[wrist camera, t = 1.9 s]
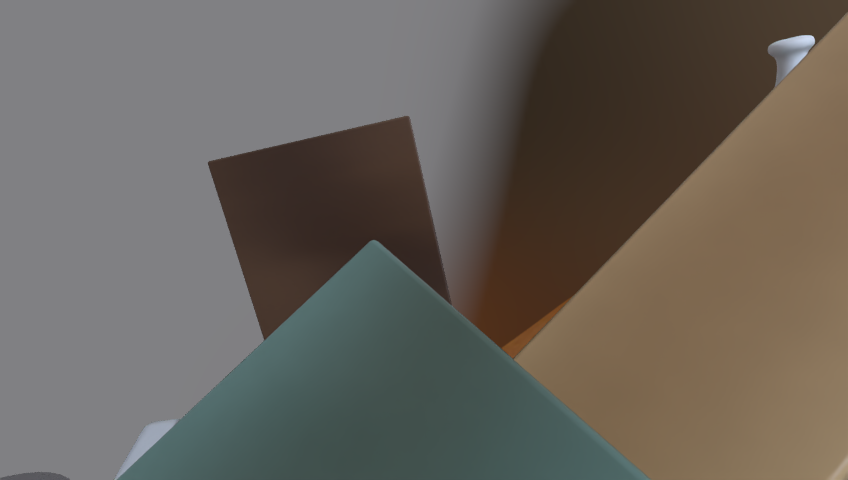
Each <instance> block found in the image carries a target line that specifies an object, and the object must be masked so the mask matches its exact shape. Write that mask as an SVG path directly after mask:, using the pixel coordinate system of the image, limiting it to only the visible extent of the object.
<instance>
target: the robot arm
mask: <svg viewBox="0 0 848 480" xmlns="http://www.w3.org/2000/svg"><path fill="white" fill-rule="evenodd" d="M181 419H182V418H181ZM179 420H180V419H173V420H164V421H157V422H151V423H150V424H148V425H147V426H146V427H144V428H143V430H142V432H141V434H140V435H139V437H138V439H137V440H136V442H135V444H134V446H133V447H132V449H131V451H130V453H129V454H128V456H127V458H126V459H125V461H124V463H123V465H122V466H121V468H120V470H119V471H118V473H117V475H116V477H115V478H114V480H117V479H118V478H119V477H120V476H121V475H122V474H123V473H124V472H125V471H126V470H127V469H128V468H129V467H130V466H132V465H133V464H134V463H135V462H136V461H137V460H138V459H139V458H140V457H141V456H142V455H143V454H144V453H145V452H146V451H148V450H149V449H150V448H151V447H152V446H153V445H154V444H155V443H156V442H157V441H158V440H159V439H160V438H161V437H162V436H163V435H165V434H166V433H167V432H168V431H169V430H170V429H171V428H172V427H173V426H174V425H175V424H176V423H177V422H178V421H179Z"/></svg>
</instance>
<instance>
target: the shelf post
mask: <svg viewBox="0 0 848 480" xmlns="http://www.w3.org/2000/svg"><path fill="white" fill-rule="evenodd" d="M208 165H209V168H210V172H211V175H212V178H213V181H214V184H215V187H216V190H217V193H218V197H219V200H220V203H221V206H222V209H223V212H224V215H225V218H226V222H227V224H228V228H229V231H230V234H231V237H232V240H233V244H234V247H235V250H236V253H237V256H238V259H239V262H240V265H241V268H242V271H243V275H244V278H245V281H246V284H247V287H248V290H249V294H250V297H251V300H252V303H253V306H254V309H255V312H256V316H257V318H258V322H259V325H260V328H261V331H262V334H263V337H264V340H265V339H267V338H268V337H269V336H270V335H271V334H272V333H273V332H274V331H275V330H276V329H277V328H278V327H279V326H280V325H281V324H282V323H284V322H285V321H286V320H287V319H288V318H289V317H290V316H291V315H292V314H293V313H294V312H295V311H296V310H297V309H298V308H299V307H301V306H302V305H303V304H304V303H305V302H306V301H307V300H308V299H309V298H310V297H311V296H312V295H313V294H314V293H315V292H316V291H318V290H319V289H320V288H321V287H322V286H323V285H324V284H325V283H326V282H327V281H328V280H329V279H330V278H331V277H332V276H333V275H335V274H336V273H337V272H338V271H339V270H340V269H341V268H342V267H343V266H344V265H345V264H346V263H347V262H348V261H349V260H351V259H352V258H353V257H354V256H355V255H356V254H357V253H358V252H359V251H360V250H361V249H362V248H363V247H364V246H365V245H366V244H368V243H369V242H370V241H372V240H376V241H378V242H379V243H381V244H382V245H383V246H384V247H385V248H386V249H387V250H389V251H390V252H391V253H392V254H393V255H394V256H395V257H397V258H398V259H399V260H400V261H401V262H402V263H403V264H405V265H406V266H407V267H408V268H409V269H410V270H411V271H413V272H414V273H415V274H416V275H417V276H418V277H420V278H421V279H422V280H423V281H424V282H425V283H426V284H428V285H429V286H430V287H431V288H432V289H433V290H434V291H436V292H437V293H438V294H439V295H440V296H441V297H442V298H444V299H445V300H446V301H447V302H448V303H449V304H450V305H452V304H451V300H450V295H449V290H448V286H447V281H446V277H445V272H444V268H443V263H442V259H441V255H440V251H439V246H438V241H437V237H436V232H435V228H434V224H433V219H432V215H431V210H430V206H429V201H428V196H427V192H426V188H425V183H424V179H423V174H422V170H421V165H420V161H419V156H418V152H417V147H416V143H415V138H414V134H413V130H412V125H411V120H410V117H409V116H404V117H400V118H395V119H391V120H387V121H382V122H378V123H374V124H369V125H365V126H361V127H356V128H352V129H347V130H343V131H339V132H335V133H330V134H326V135H321V136H317V137H313V138H308V139H304V140H300V141H295V142H291V143H287V144H282V145H278V146H274V147H269V148H265V149H261V150H256V151H252V152H248V153H243V154H239V155H234V156H230V157H226V158H221V159H217V160H213V161H209V162H208Z"/></svg>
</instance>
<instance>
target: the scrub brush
mask: <svg viewBox="0 0 848 480" xmlns="http://www.w3.org/2000/svg"><path fill="white" fill-rule="evenodd" d="M117 480H848V12H847V13H846V14H845V16H843V18H841V20H840V21H839V22H838V23H837V24H836V25H835V26H834V27H833V28H832V29H831V30H830V31H829V32H828V33H827V34H826V35H825V36H824V37H823V38H822V39H821V40H820V41H819V42H818V43H817V44H816V46H814V48H813V49H812V50H811V51H810V52H809V53H808V54H807V55H806V56H805V57H804V58H803V59H802V60H801V61H800V62H799V63H798V64H797V65H796V66H795V67H794V68H793V69H792V70H791V71H790V72H789V73H788V74H787V75H786V76H785V77H784V79H783V80H782V81H781V82H780V83H779V84H778V85H777V86H776V87H775V88H774V89H773V90H772V91H771V92H770V93H769V94H768V95H767V96H766V97H765V98H764V99H763V100H762V101H761V102H760V103H759V104H758V106H756V108H755V109H754V110H753V111H752V112H751V113H750V114H749V115H748V116H747V117H746V118H745V119H744V120H743V121H742V122H741V123H740V124H739V125H738V126H737V127H736V128H735V129H734V130H733V131H732V133H730V135H729V136H728V137H727V138H726V139H725V140H724V141H723V142H722V143H721V144H720V145H719V146H718V147H717V148H716V149H715V150H714V151H713V152H712V153H711V154H710V155H709V156H708V157H707V158H706V159H705V160H704V161H703V163H702V164H700V166H699V167H698V168H697V169H696V170H695V171H694V172H693V173H692V174H691V175H690V176H689V177H688V178H687V179H686V180H685V181H684V182H683V183H682V184H681V185H680V186H679V187H678V188H677V189H676V190H675V191H674V192H673V194H672V195H671V196H670V197H669V198H668V199H667V200H666V201H665V202H664V203H663V204H662V205H661V206H660V207H659V208H658V209H657V210H656V211H655V212H654V213H653V214H652V215H651V216H650V217H649V218H648V219H647V220H646V221H645V222H644V223H643V225H642V226H641V227H640V228H639V229H638V230H637V231H636V232H635V233H634V234H633V235H632V236H631V237H630V238H629V239H628V240H627V241H626V242H625V243H624V244H623V245H622V246H621V247H620V248H619V249H618V250H617V251H616V253H614V255H613V256H612V257H611V258H610V259H609V260H608V261H607V262H606V263H605V264H604V265H603V266H602V267H601V268H600V269H599V270H598V271H597V272H596V273H595V274H594V275H593V276H592V277H591V278H590V279H589V281H587V282H586V284H585V285H584V286H583V287H582V288H581V289H580V290H579V291H578V292H577V293H576V294H575V295H574V296H573V297H572V298H571V299H570V300H569V301H568V302H567V303H566V304H565V305H564V306H563V307H562V308H561V309H560V310H559V311H558V313H557V314H556V315H555V316H554V317H553V318H552V319H551V320H550V321H549V322H548V323H547V324H546V325H545V326H544V327H543V328H542V329H541V330H540V331H539V332H538V333H537V334H536V335H535V336H534V337H533V338H532V339H531V340H530V341H529V343H528V344H527V345H526V346H525V347H524V348H523V349H522V350H521V351H520V352H519V353H518V354H517V355H516V356H515V357H514V358H513V359H512V358H511V357H510V356H509V355H508V354H507V353H506V352H504V351H503V350H502V349H501V348H500V347H499V346H498V345H496V344H495V343H494V342H493V341H492V340H491V339H489V338H488V337H487V336H486V335H485V334H484V333H483V332H481V331H480V330H479V329H478V328H477V327H476V326H474V325H473V324H472V323H471V322H470V321H469V320H468V319H467V318H465V317H464V316H463V315H462V314H461V313H460V312H459V311H457V310H456V309H455V308H454V307H453V306H452V305H450V304H449V303H448V302H447V301H446V300H445V299H444V298H442V297H441V296H440V295H439V294H438V293H437V292H436V291H434V290H433V289H432V288H431V287H430V286H429V285H428V284H426V283H425V282H424V281H423V280H422V279H421V278H420V277H418V276H417V275H416V274H415V273H414V272H413V271H411V270H410V269H409V268H408V267H407V266H406V265H405V264H403V263H402V262H401V261H400V260H399V259H398V258H397V257H395V256H394V255H393V254H392V253H391V252H390V251H389V250H387V249H386V248H385V247H384V246H383V245H382V244H381V243H379V242H378V241H376V240H372V241H370V242H369V243H368V244H366V245H365V246H364V247H363V248H362V249H361V250H360V251H359V252H358V253H357V254H356V255H355V256H354V257H353V258H352V259H351V260H349V261H348V262H347V263H346V264H345V265H344V266H343V267H342V268H341V269H340V270H339V271H338V272H337V273H336V274H335V275H333V276H332V277H331V278H330V279H329V280H328V281H327V282H326V283H325V284H324V285H323V286H322V287H321V288H320V289H319V290H318V291H316V292H315V293H314V294H313V295H312V296H311V297H310V298H309V299H308V300H307V301H306V302H305V303H304V304H303V305H302V306H301V307H299V308H298V309H297V310H296V311H295V312H294V313H293V314H292V315H291V316H290V317H289V318H288V319H287V320H286V321H285V322H284V323H282V324H281V325H280V326H279V327H278V328H277V329H276V330H275V331H274V332H273V333H272V334H271V335H270V336H269V337H268V338H267V339H265V340H264V341H263V342H262V343H261V344H260V345H259V346H258V347H257V348H256V349H255V350H254V351H253V352H252V353H251V354H250V355H248V357H246V359H244V360H243V361H242V362H241V363H240V364H239V365H238V366H237V367H236V368H235V369H234V370H233V371H232V372H230V373H229V374H228V375H227V376H226V377H225V378H224V379H223V380H222V381H221V382H220V383H219V384H218V385H217V386H216V387H214V388H213V390H211V391H210V392H209V393H208V394H207V395H206V396H205V397H204V398H203V399H202V400H201V401H200V402H199V403H197V404H196V405H195V406H194V407H193V408H192V409H191V410H190V411H189V412H188V413H187V414H186V415H185V416H184V417H183V418H182V419H180V420H179V421H178V422H177V423H176V424H175V425H174V426H173V427H172V428H171V429H170V430H169V431H168V432H167V433H166V434H165V435H163V436H162V437H161V438H160V439H159V440H158V441H157V442H156V443H155V444H154V445H153V446H152V447H151V448H150V449H149V450H148V451H146V452H145V453H144V454H143V455H142V456H141V457H140V458H139V459H138V460H137V461H136V462H135V463H134V464H133V465H132V466H130V467H129V468H128V469H127V470H126V471H125V472H124V473H123V474H122V475H121V476H120V477H119V478H118V479H117Z"/></svg>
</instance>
